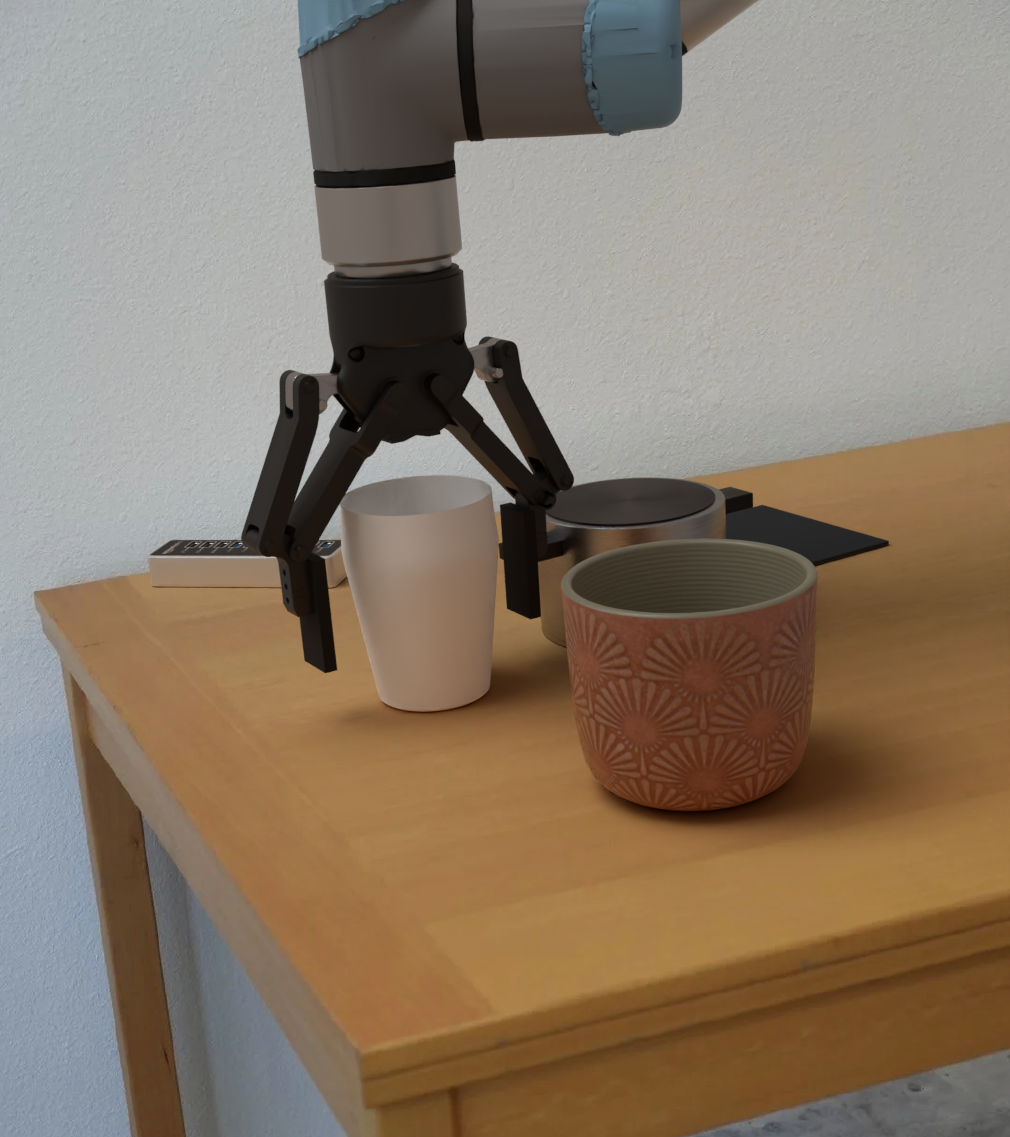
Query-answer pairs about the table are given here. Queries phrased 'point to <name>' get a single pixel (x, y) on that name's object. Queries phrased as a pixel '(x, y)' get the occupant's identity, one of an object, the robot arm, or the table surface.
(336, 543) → the multiport hub
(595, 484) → the steel pot
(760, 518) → the mat
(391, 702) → the cup
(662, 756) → the planter
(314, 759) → the table surface
